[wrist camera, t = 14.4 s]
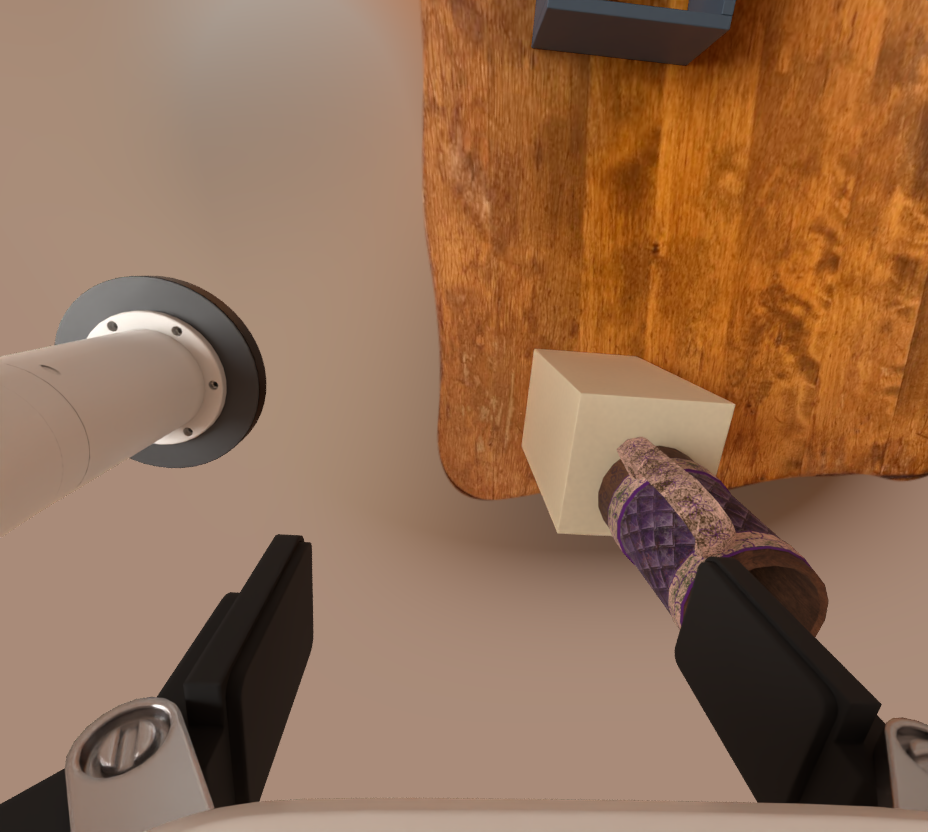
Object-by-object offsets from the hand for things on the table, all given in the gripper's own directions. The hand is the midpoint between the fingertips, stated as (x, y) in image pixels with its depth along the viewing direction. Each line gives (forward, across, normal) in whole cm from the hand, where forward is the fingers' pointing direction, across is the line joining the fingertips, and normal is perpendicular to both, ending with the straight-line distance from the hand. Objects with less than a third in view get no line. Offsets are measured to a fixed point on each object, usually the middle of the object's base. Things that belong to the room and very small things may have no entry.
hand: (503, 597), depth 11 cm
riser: (+34, -12, +4) cm, 36 cm away
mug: (+18, -12, +4) cm, 22 cm away
